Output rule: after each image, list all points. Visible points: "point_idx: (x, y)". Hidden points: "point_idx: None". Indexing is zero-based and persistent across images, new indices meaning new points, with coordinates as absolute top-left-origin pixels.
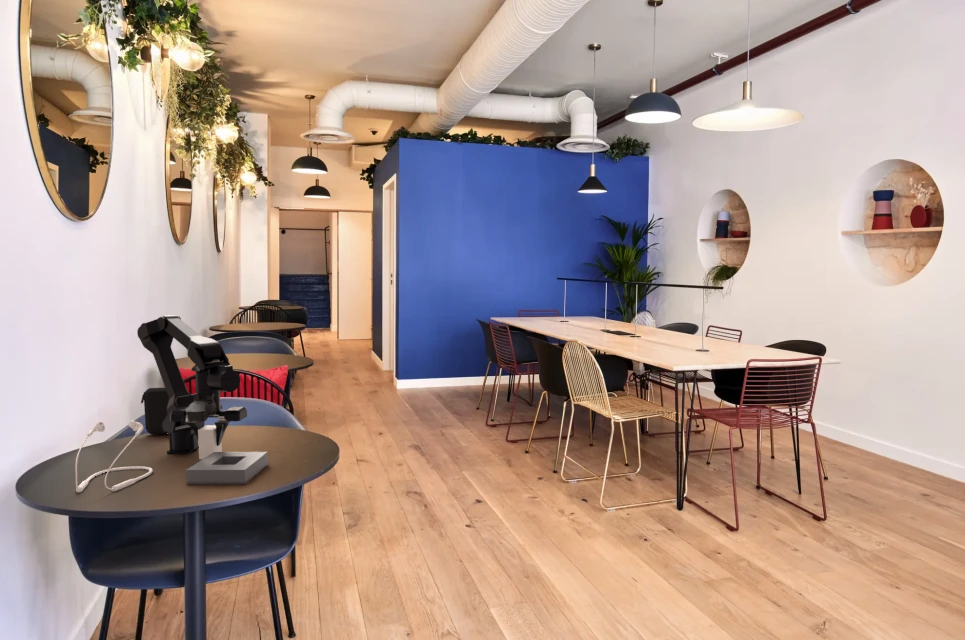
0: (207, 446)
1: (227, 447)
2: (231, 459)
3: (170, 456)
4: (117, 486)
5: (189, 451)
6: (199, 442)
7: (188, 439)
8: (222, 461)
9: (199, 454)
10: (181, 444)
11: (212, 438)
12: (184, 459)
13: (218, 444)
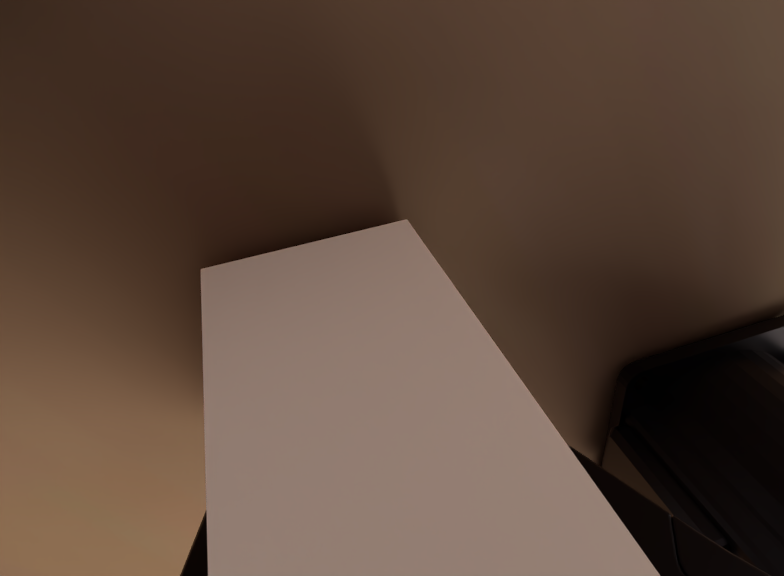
0: (321, 367)
1: None
2: None
3: (755, 260)
4: None
5: (628, 383)
6: (496, 378)
7: (723, 490)
8: None
9: (422, 252)
10: (749, 414)
11: (224, 542)
12: (596, 213)
13: None
